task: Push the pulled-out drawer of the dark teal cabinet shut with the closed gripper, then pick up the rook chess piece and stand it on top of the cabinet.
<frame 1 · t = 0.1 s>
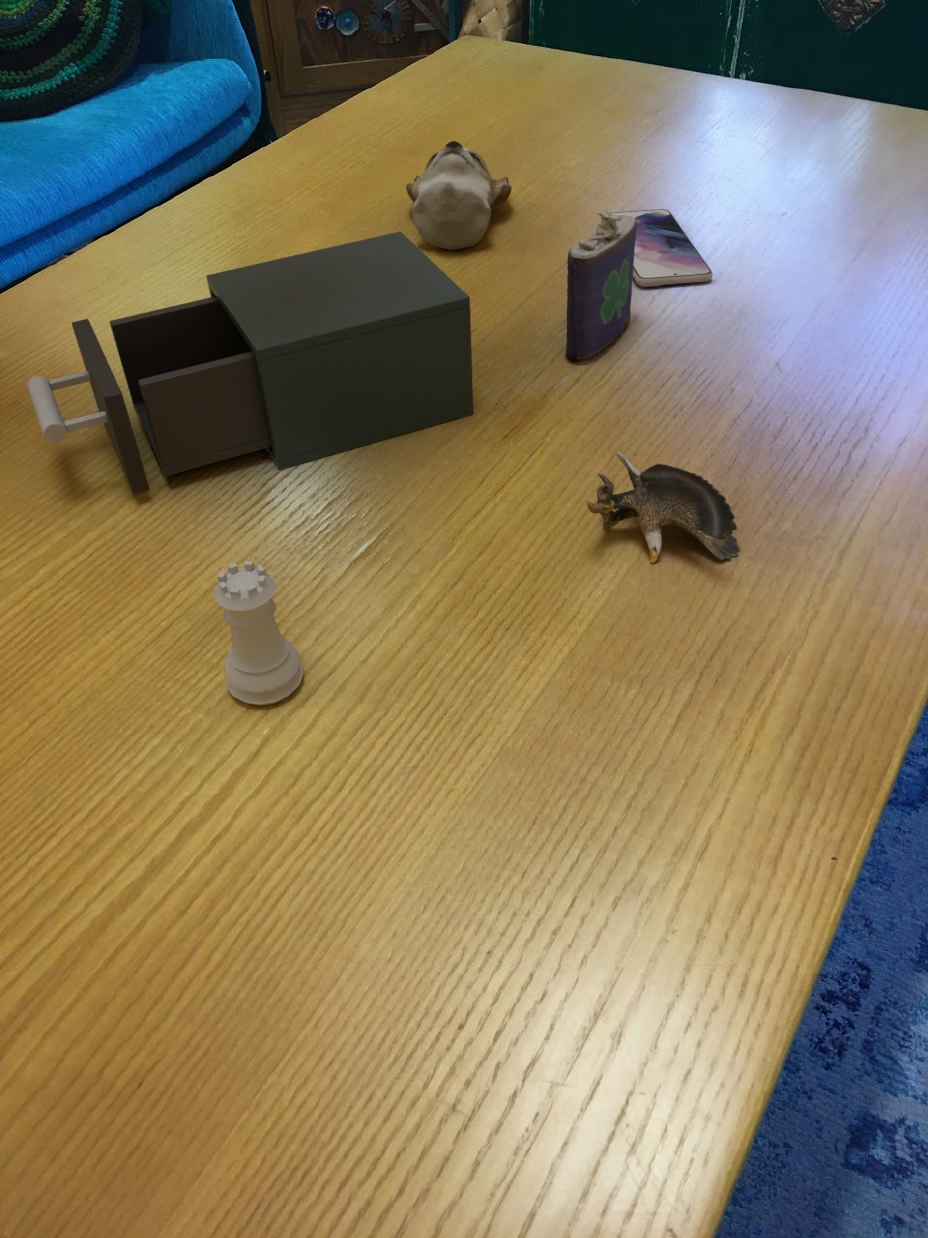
rook chess piece: (266, 683, 61), on the table
cabinet: (348, 401, 83), on the table
smartphone: (653, 251, 101), on the table
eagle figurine: (662, 545, 69), on the table
drawer: (173, 388, 76), point 5 cm above the table, slide at 9.0 cm
flask: (599, 341, 89), on the table
ceramic sculpture: (456, 230, 106), on the table
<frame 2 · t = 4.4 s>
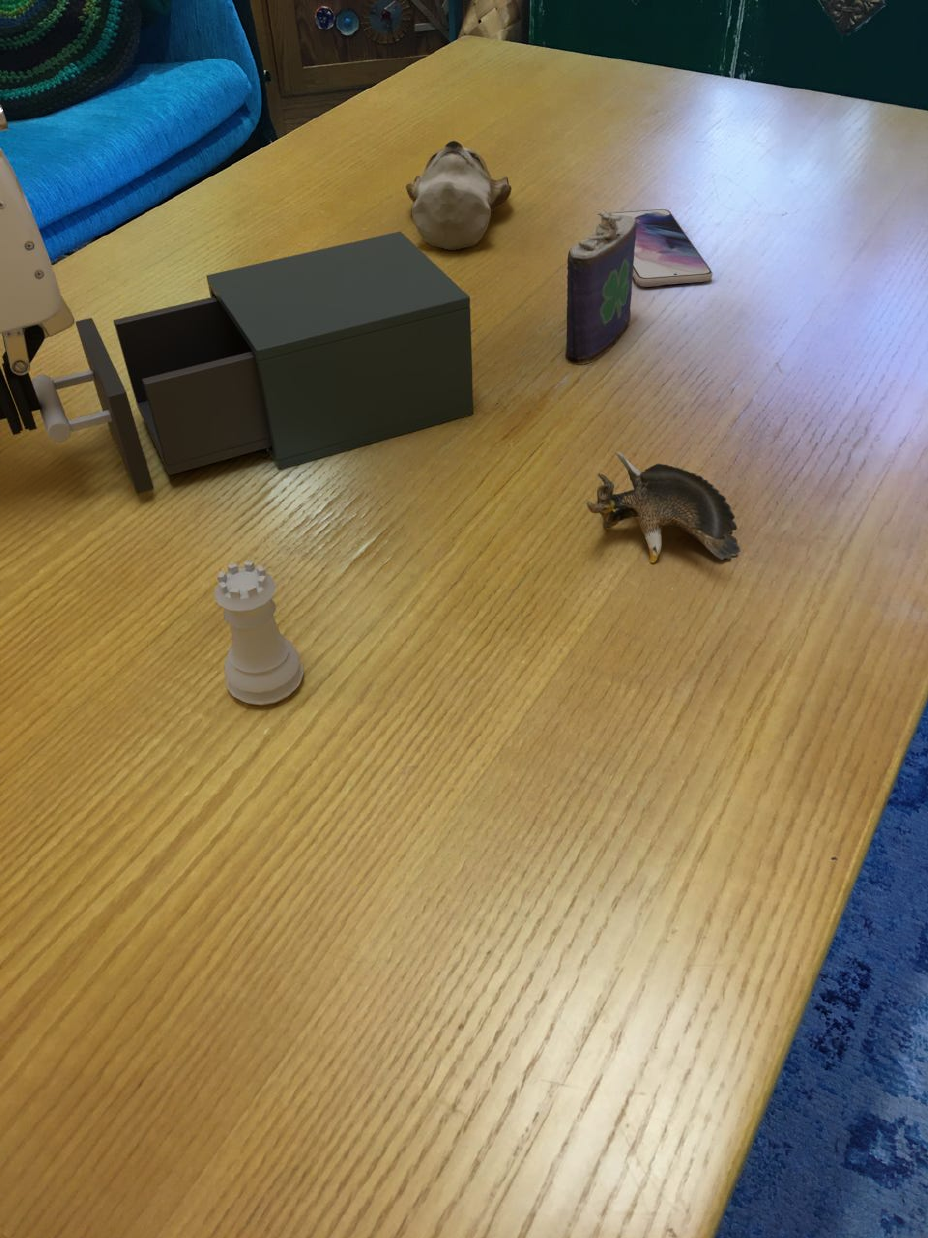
hand: (22, 422, 72), 5 cm above the table, tool pointing down, fingers closed
drawer: (177, 387, 76), point 5 cm above the table, slide at 8.7 cm, touching gripper
everything else where it was.
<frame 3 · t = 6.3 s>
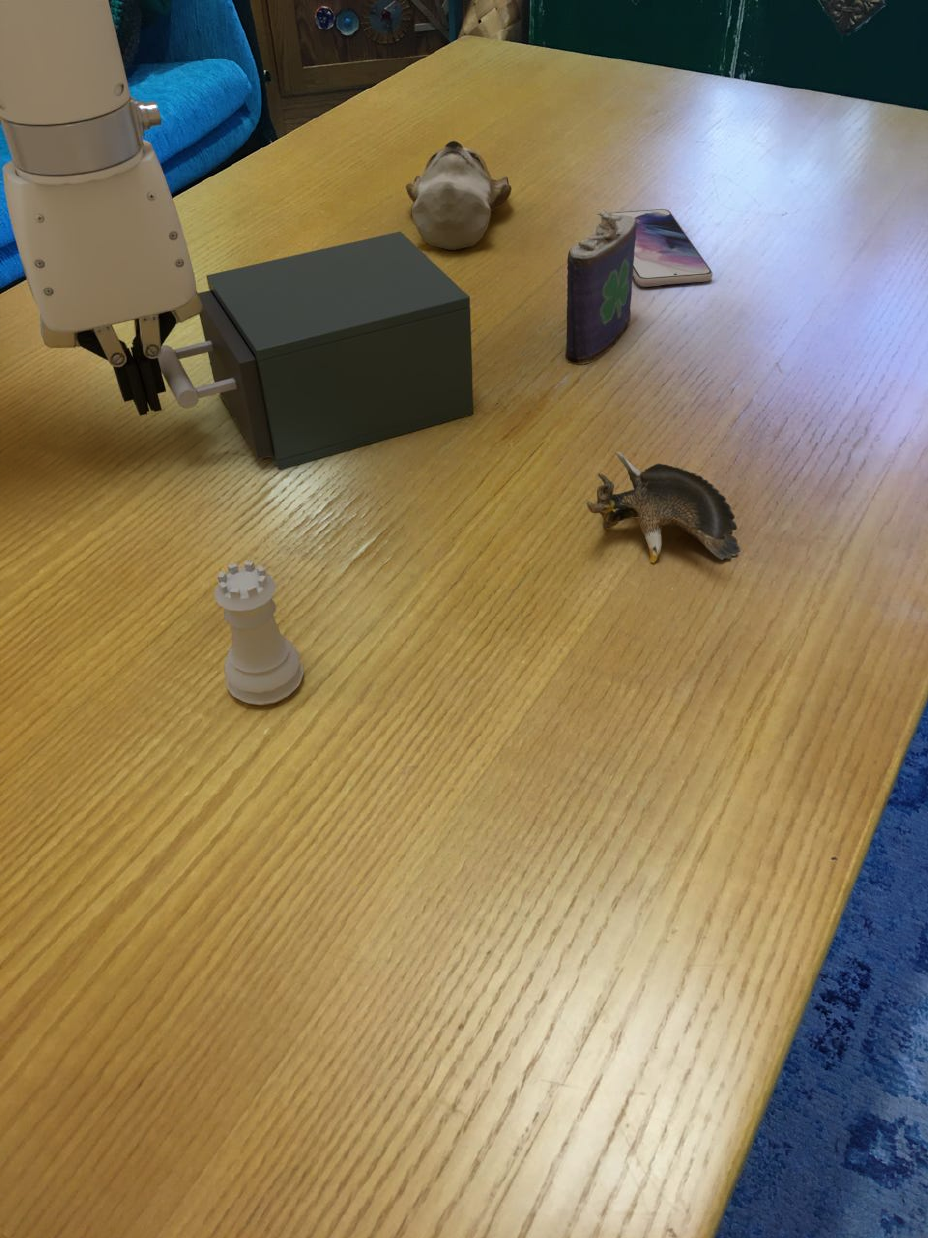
hand: (146, 403, 76), 4 cm above the table, tool pointing down, fingers closed
drawer: (293, 358, 79), point 5 cm above the table, slide at 0.0 cm, touching cabinet, gripper
everything else where it was.
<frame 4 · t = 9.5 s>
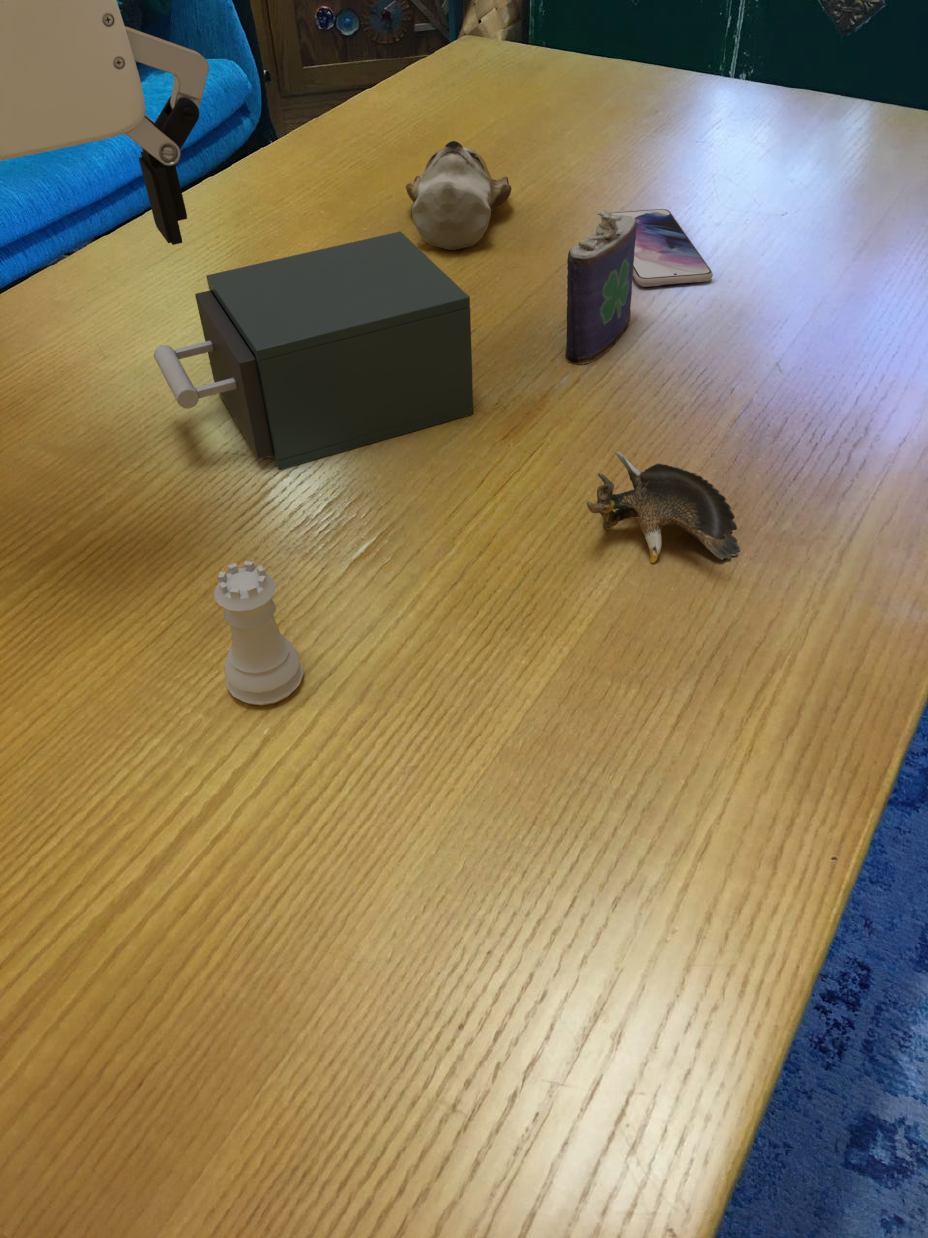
hand: (80, 256, 56), 20 cm above the table, tool pointing down, fingers open, 9 cm apart
drawer: (293, 358, 79), point 5 cm above the table, slide at 0.0 cm, touching cabinet
everything else where it was.
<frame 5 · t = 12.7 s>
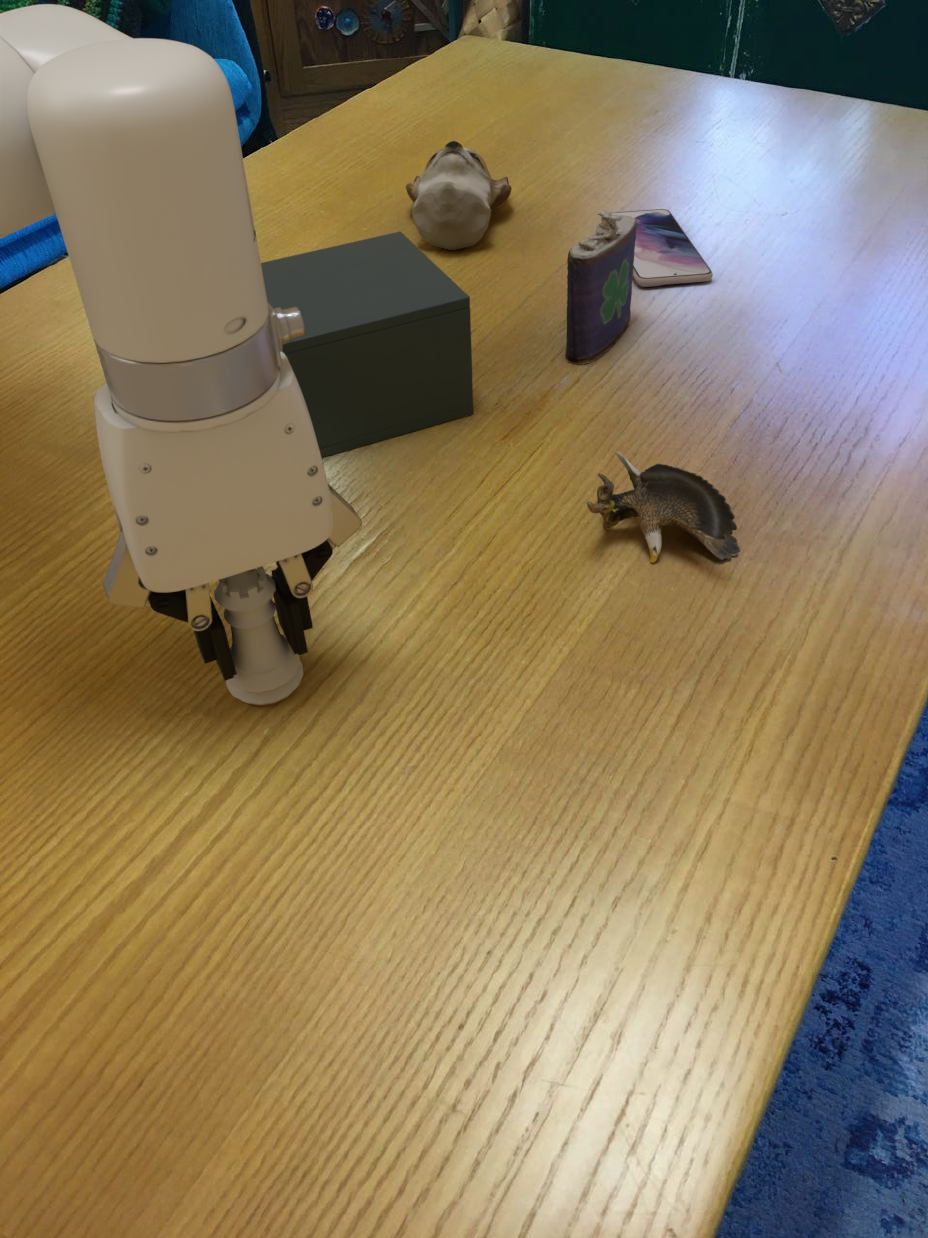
hand: (258, 648, 60), 3 cm above the table, tool pointing down, fingers closed on rook chess piece, 3 cm apart
rook chess piece: (266, 683, 61), on the table, touching gripper
everything else where it was.
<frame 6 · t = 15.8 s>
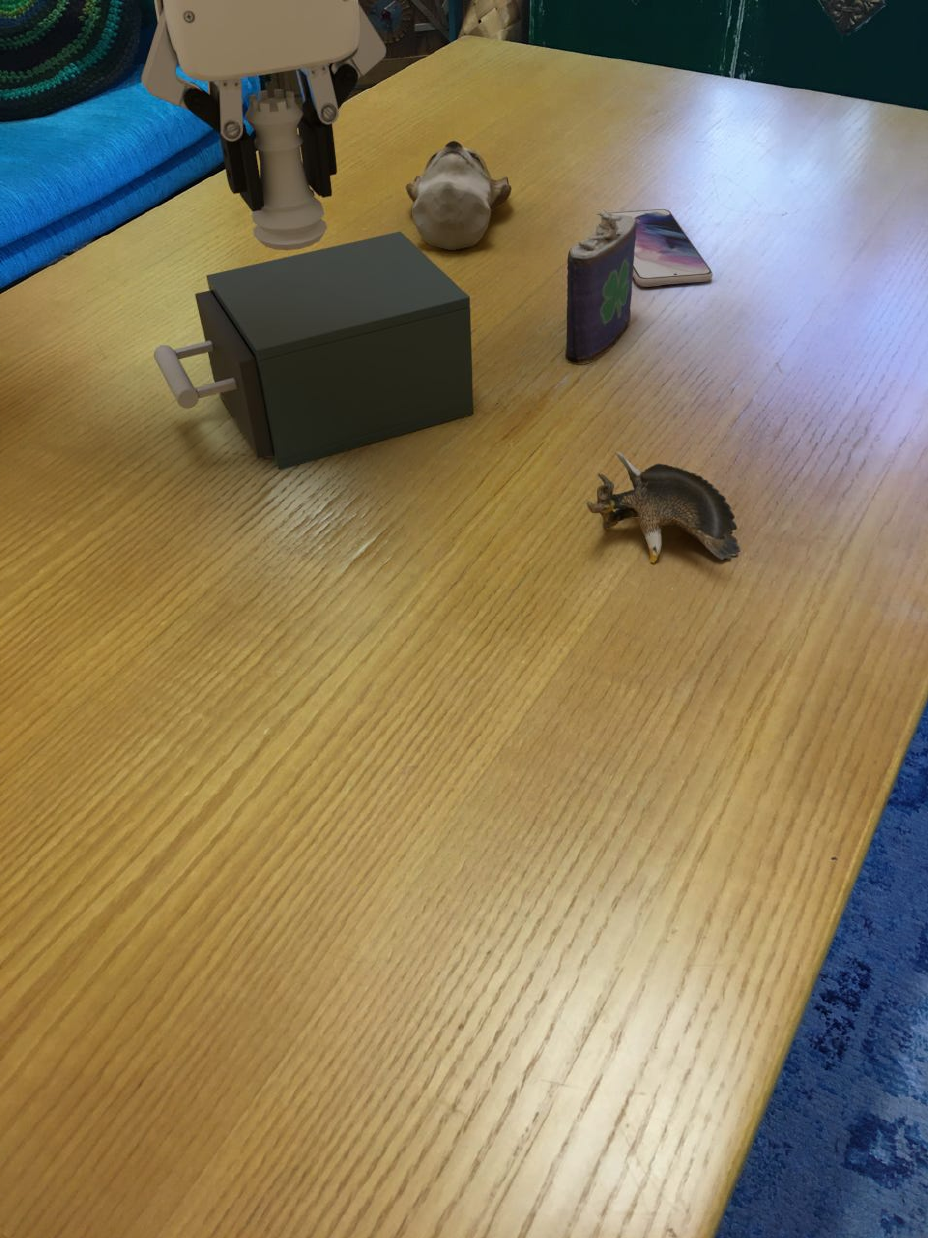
hand: (285, 192, 63), 20 cm above the table, tool pointing down, fingers closed on rook chess piece, 3 cm apart
rook chess piece: (291, 239, 65), point 17 cm above the table, touching gripper
everything else where it was.
when the fingers open (12 cm above the table, at t = 19.1 s): rook chess piece stays where it is, resting on cabinet.
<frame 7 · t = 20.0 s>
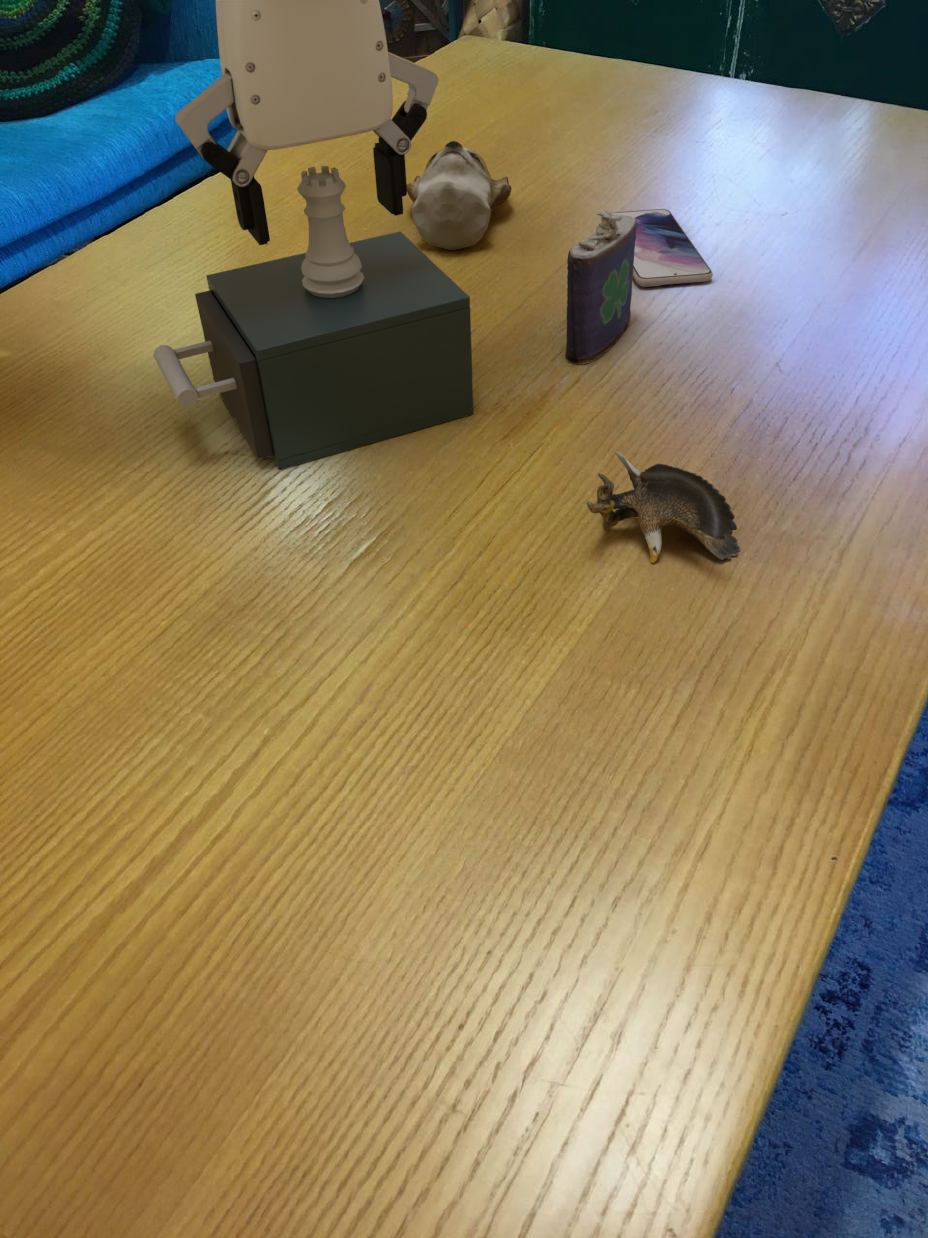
hand: (325, 222, 73), 14 cm above the table, tool pointing down, fingers open, 9 cm apart
rook chess piece: (334, 288, 77), point 9 cm above the table, touching cabinet
everything else where it was.
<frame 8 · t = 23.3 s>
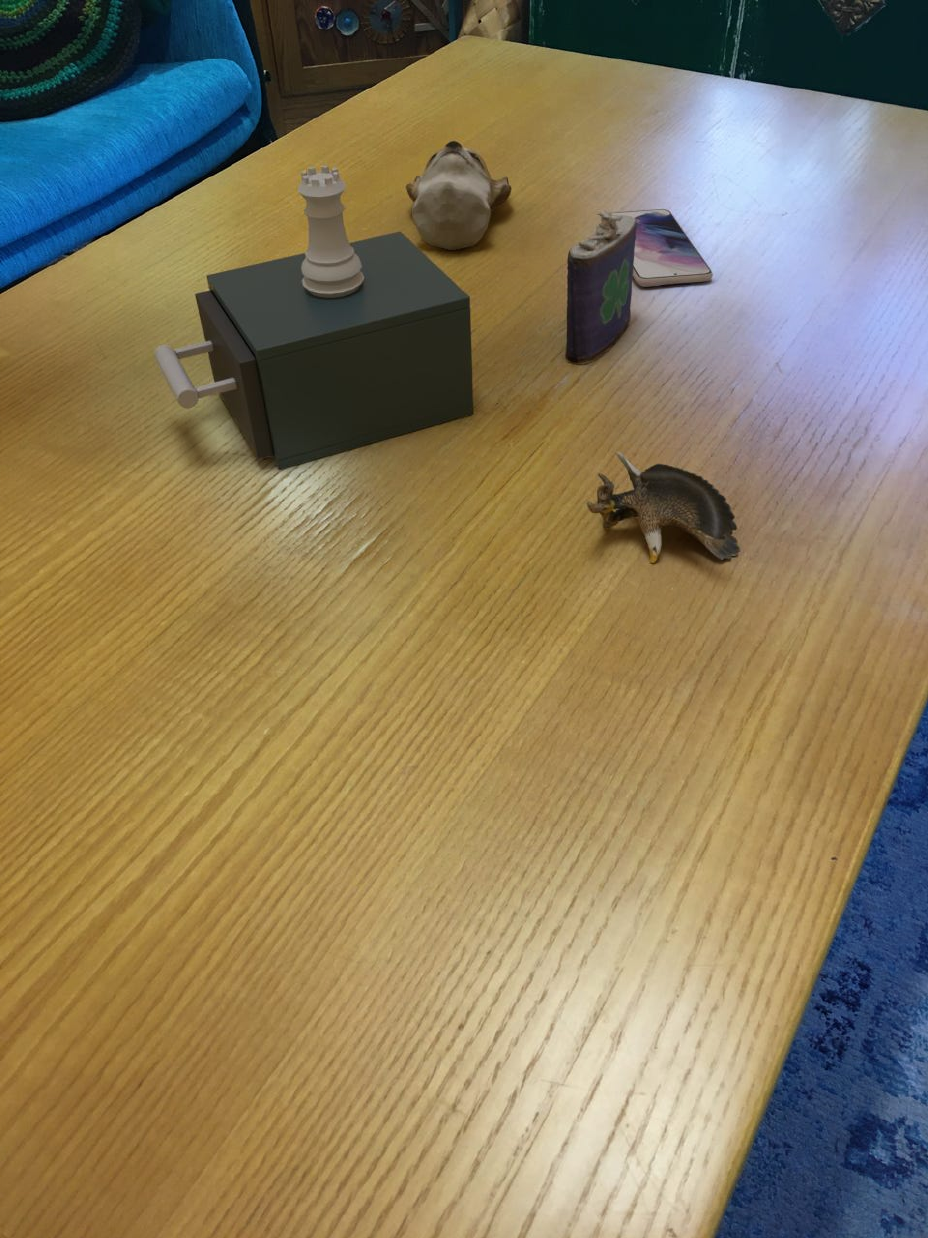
nothing on the table moved.
at the end: drawer slide at 0.0 cm; rook chess piece inside the target area on the cabinet (0.1 cm from its centre), point 9.4 cm above the cabinet's base; rook chess piece tilted 0° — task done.
